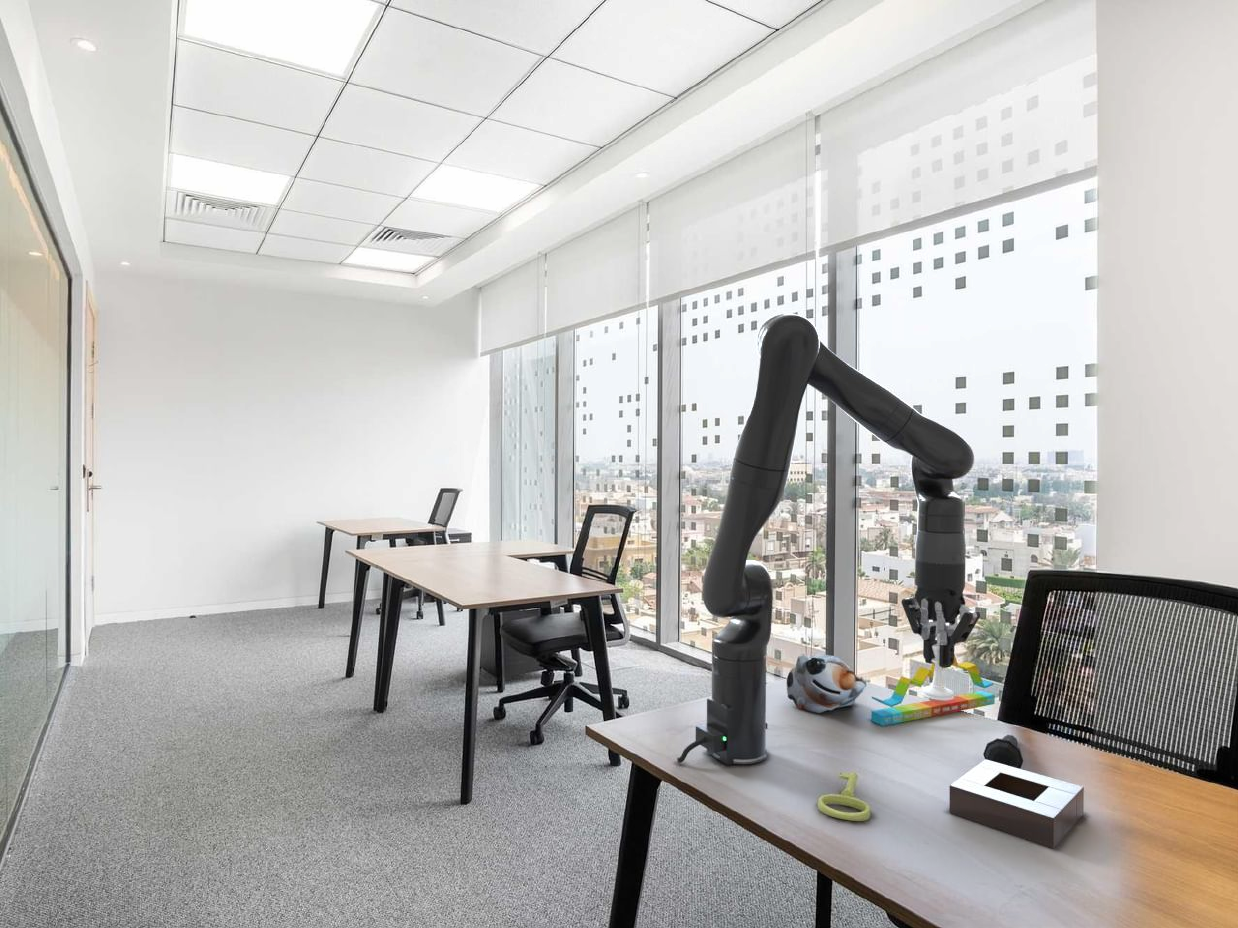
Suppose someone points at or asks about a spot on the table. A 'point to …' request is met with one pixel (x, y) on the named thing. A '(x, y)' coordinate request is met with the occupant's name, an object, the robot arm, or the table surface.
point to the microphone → (1004, 752)
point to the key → (845, 801)
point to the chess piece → (937, 679)
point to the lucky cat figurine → (823, 683)
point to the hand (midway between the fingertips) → (938, 664)
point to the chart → (931, 706)
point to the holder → (1017, 802)
